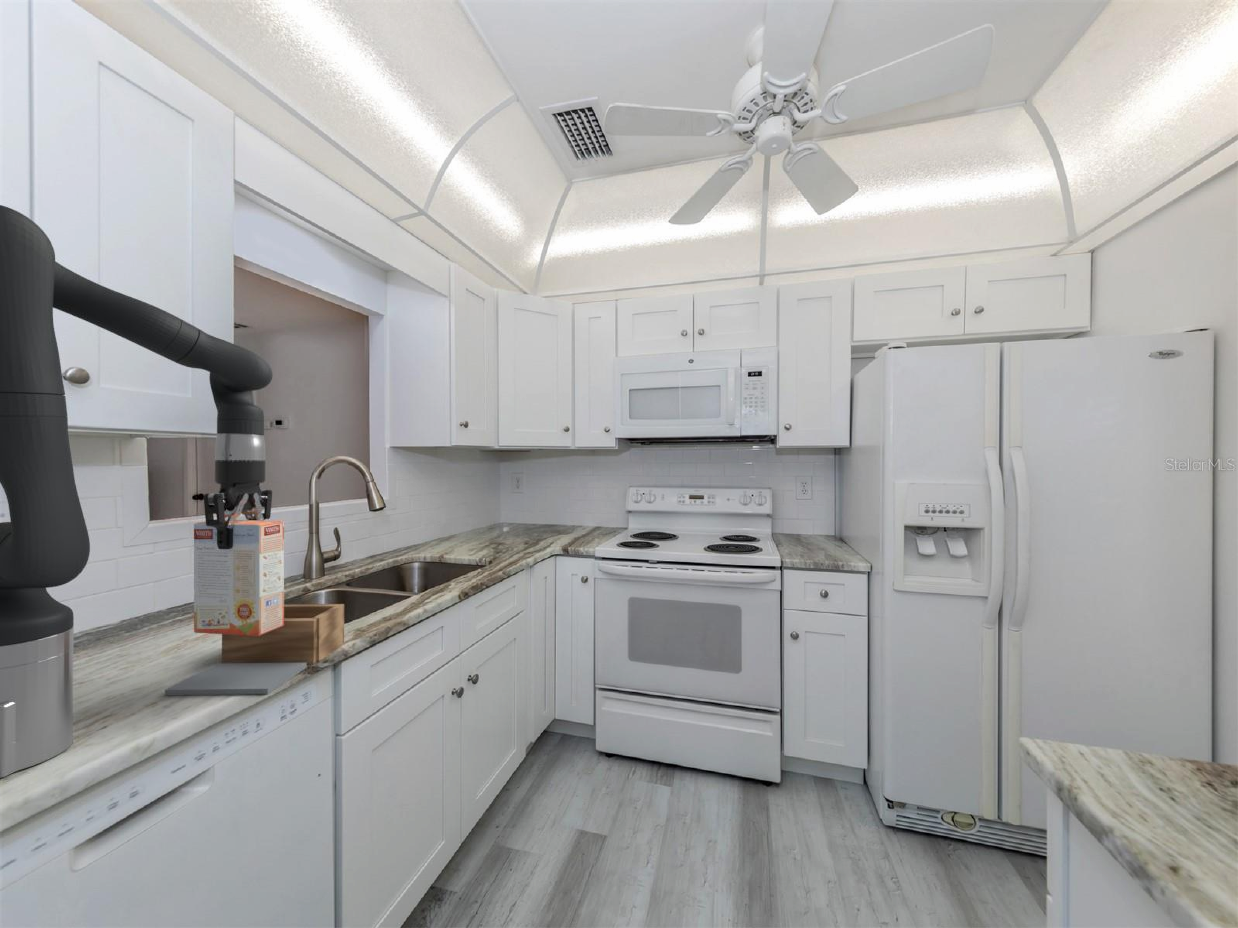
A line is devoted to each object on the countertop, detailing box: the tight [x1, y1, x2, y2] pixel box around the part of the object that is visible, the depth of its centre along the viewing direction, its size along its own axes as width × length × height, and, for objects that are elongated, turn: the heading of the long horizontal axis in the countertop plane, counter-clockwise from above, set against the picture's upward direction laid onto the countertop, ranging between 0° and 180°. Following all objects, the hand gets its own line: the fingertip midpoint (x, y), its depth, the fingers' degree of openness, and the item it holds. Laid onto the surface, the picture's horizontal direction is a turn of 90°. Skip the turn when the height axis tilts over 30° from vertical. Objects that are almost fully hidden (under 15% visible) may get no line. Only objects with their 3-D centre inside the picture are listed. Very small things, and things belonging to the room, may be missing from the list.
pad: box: [164, 662, 308, 696], centre depth 89 cm, size 11×18×1 cm, turn 92°
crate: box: [221, 603, 345, 665], centre depth 102 cm, size 11×19×9 cm, turn 92°
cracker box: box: [193, 519, 285, 636], centre depth 89 cm, size 14×6×21 cm, turn 82°
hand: (240, 545), depth 89 cm, fingers closed on cracker box, 6 cm apart
